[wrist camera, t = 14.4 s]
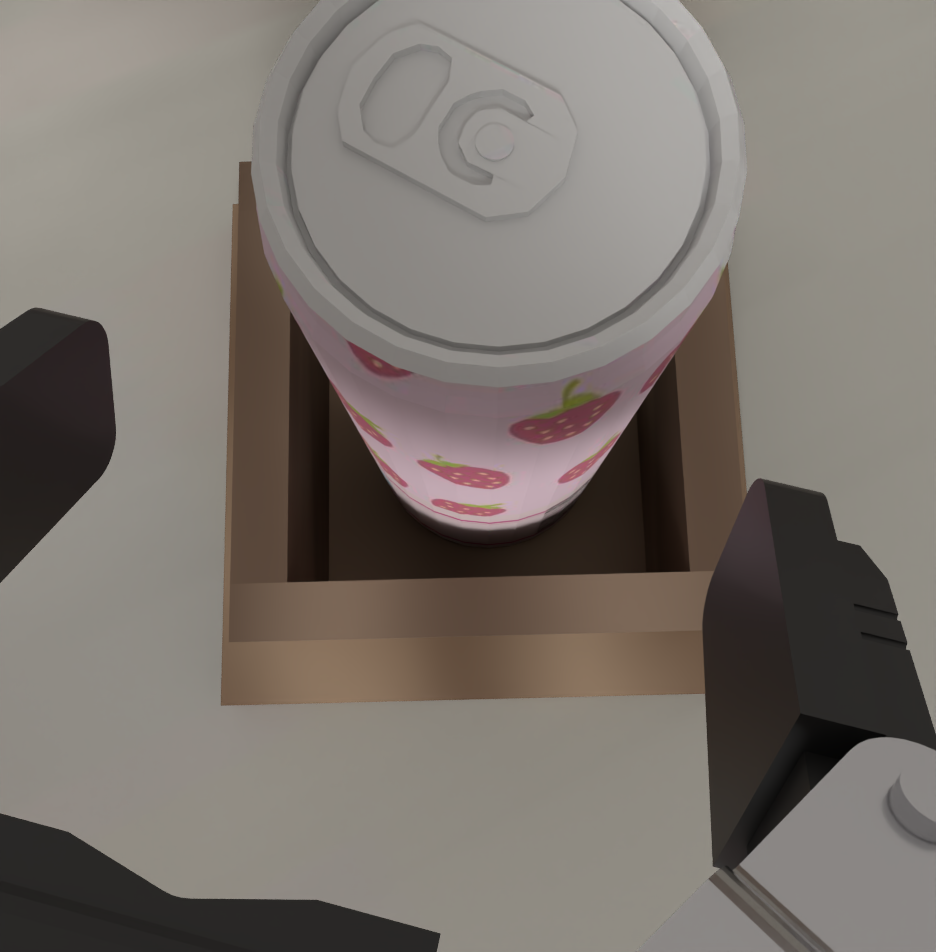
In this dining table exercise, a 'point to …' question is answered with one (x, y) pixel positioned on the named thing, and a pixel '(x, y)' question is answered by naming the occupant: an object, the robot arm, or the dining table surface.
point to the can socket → (452, 564)
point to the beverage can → (496, 232)
